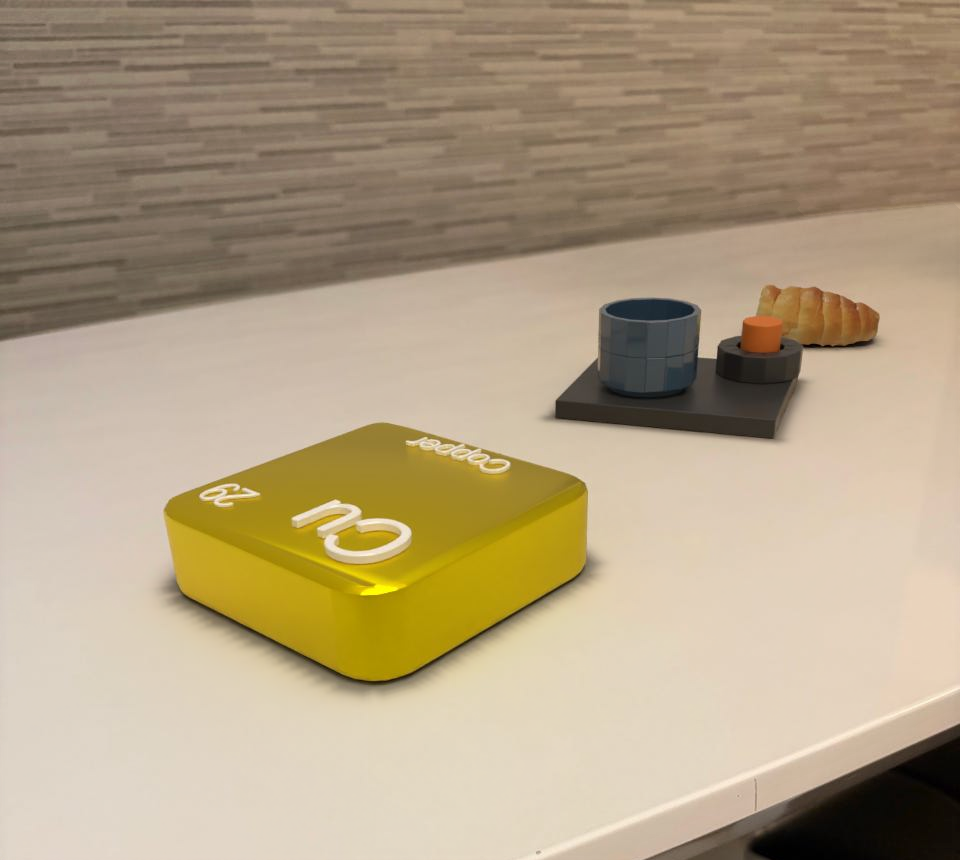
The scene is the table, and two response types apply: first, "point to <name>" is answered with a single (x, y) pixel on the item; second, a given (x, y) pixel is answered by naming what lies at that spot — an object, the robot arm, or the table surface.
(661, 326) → the blue cup
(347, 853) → the table surface
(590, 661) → the table surface
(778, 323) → the button
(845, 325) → the pastry
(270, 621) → the element tile
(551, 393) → the table surface
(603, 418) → the scale
